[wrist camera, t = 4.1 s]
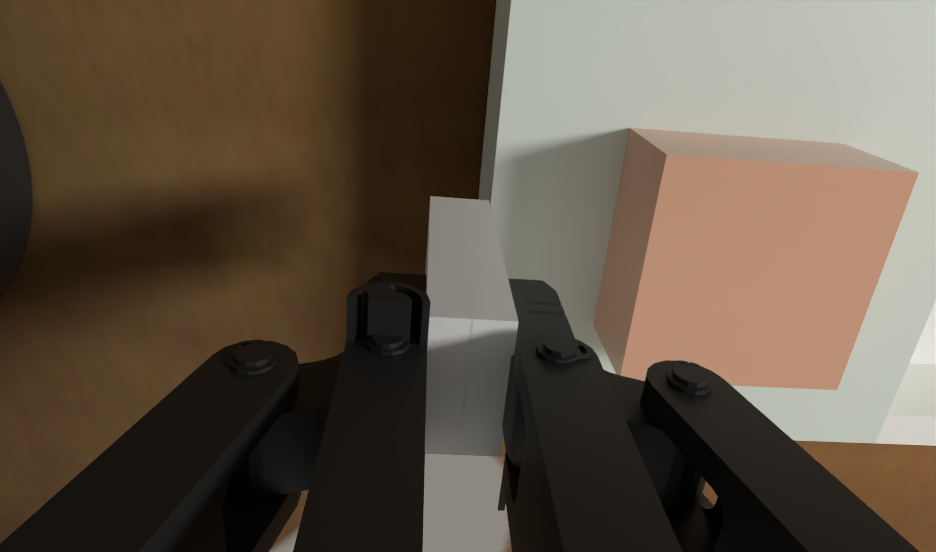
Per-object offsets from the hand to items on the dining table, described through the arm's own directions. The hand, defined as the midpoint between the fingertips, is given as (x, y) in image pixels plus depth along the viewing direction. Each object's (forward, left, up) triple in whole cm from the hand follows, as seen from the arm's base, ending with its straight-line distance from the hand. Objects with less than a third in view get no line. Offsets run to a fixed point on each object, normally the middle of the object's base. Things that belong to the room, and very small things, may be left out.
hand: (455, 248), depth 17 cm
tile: (+7, 0, -2) cm, 8 cm away
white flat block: (+8, 0, -6) cm, 10 cm away
